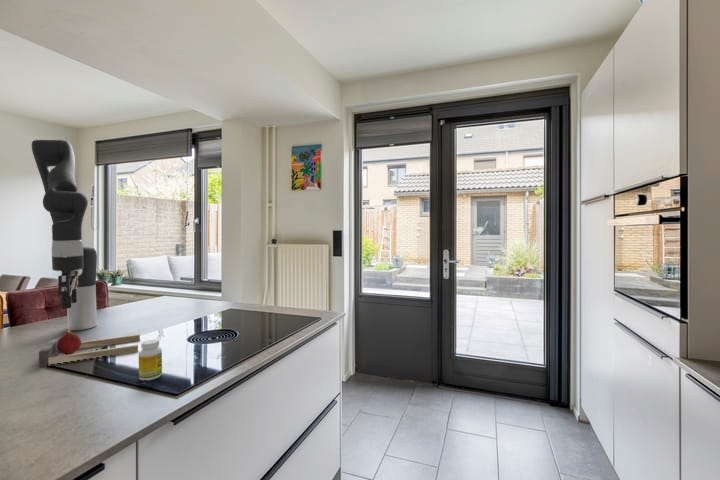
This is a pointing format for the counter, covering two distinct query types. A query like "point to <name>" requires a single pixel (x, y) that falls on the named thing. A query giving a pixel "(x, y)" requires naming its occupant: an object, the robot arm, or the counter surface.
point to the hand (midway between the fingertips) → (69, 305)
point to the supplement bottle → (150, 360)
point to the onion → (69, 343)
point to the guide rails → (50, 352)
